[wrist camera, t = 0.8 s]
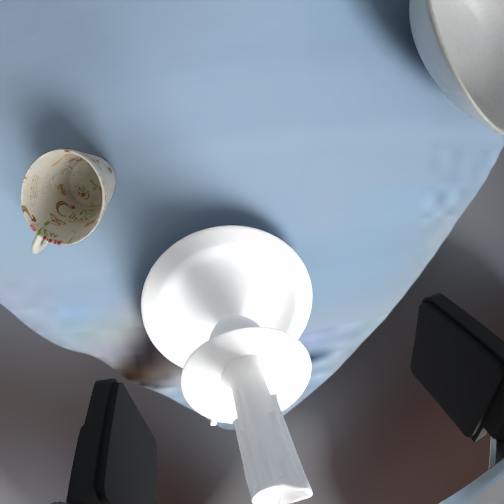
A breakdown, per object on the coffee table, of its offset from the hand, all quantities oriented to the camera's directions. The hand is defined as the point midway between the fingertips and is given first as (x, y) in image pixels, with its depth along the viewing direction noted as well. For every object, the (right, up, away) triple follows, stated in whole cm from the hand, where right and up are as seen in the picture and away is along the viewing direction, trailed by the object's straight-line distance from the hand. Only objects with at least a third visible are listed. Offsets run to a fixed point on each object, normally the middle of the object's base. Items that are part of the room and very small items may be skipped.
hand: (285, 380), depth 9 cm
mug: (-20, +10, +24) cm, 33 cm away
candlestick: (-5, -4, +32) cm, 33 cm away
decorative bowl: (+27, +34, +25) cm, 51 cm away
